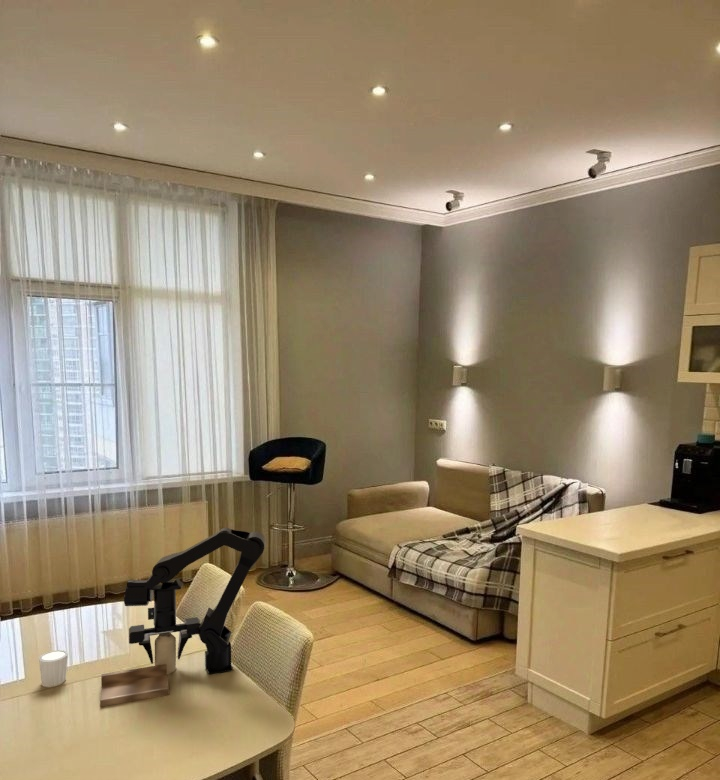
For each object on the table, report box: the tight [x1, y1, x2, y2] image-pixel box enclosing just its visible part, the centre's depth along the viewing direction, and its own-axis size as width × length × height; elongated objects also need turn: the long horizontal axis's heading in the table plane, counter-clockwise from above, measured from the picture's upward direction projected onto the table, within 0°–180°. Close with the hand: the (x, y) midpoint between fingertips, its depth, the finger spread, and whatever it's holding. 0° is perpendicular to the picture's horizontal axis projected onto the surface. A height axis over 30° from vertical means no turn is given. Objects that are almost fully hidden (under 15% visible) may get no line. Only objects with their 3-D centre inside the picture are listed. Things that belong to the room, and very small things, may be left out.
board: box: [99, 664, 170, 707], centre depth 155 cm, size 16×9×4 cm, turn 111°
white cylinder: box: [38, 649, 69, 688], centre depth 161 cm, size 7×7×7 cm
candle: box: [154, 633, 177, 675], centre depth 167 cm, size 6×6×10 cm
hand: (165, 661), depth 167 cm, fingers open, 7 cm apart
